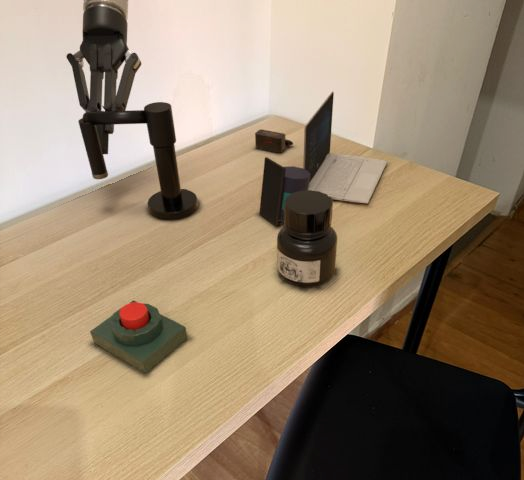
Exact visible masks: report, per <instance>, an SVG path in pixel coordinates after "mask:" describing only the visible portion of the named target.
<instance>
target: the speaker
mask: <svg viewBox="0 0 524 480" xmlns="http://www.w3.org/2000/svg"><path fill="white" fill-rule="evenodd" d="M310 176H311V174H310V173H309V172H308V171H307V170H305V169H303V167H299V166H295V165H294V166H283V165H281V164H279V163H277V162H276V161H274V160H273V159H271V158H269V157H268V156H265V157H264V162H263V172H262V182H261V183H262V184H261V193H260V205H259V213H258V214H259V216H261V217H262V218H263V219H265V220H266V221H268V223H271V225H273V226H275V227H276V228H278V227H279V225H280V222H282V223H284V221H285V220H284V201H285V199H286V198H287V196H289V195H291V194H292V193H295V192H298V191H306V190H308V188H309V182H310Z"/></svg>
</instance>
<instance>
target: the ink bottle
mask: <svg viewBox="0 0 524 480" xmlns="http://www.w3.org/2000/svg"><path fill="white" fill-rule="evenodd" d="M333 207H334V202H333V199H332V198H330V197H329V196H328V195H327V194H324V193H322V192H319V191H312V190H306V191H298V192H295V193H292V194H291V195H289V196H287V198H286V199H285V201H284V220H285V221H284V222H283V224H284V225H283V226H282V227H281V228H280V229H279V231H278V233H277V237H276V269H277V274H278V276H279V277H280V278H281V280H283V281H284V282H286V283H288V284H290V285H292V286H296V287H299V288H313V287H318V286H321V285H323V284H325V283H327V282H328V281H330V280H331V279H332V278H333V276H334V274H335V271H336V261H337V251H338V235H337V231H336V230H335V229H334V228H333V227H332V220H333V209H334V208H333Z"/></svg>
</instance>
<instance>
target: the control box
mask: <svg viewBox="0 0 524 480" xmlns="http://www.w3.org/2000/svg"><path fill="white" fill-rule="evenodd" d="M134 302H137V301H136V300H134V299H133V300H132V301H130V302H129V303H134ZM141 303H142V304H144V305H145V306H146V307H147V310H148V315H149V322H148V324H147V325H146V326H144V327H143V328H139V329H136V330H130V329H126V328H125V327H123V325H122V322H121V319H120V315H119V312H120V309H121V308H122V307H120V308H119V309H117V310H116V311H115V312H113V313H112V315H111V316H109V317H107V318H106V319H105V320H104V321H102V322H101V323H100V324H98V325H97V326H95V327H94V328H92V329H91V330H90V331H89V333H90V335H91V338H92V341H93V344H95V345H97V346H99V347H100V348H102V349H103V350H104V351H106V352H109V353H110V354H112V355H114V356H115V357H117V358H118V359H121V360H122V361H124V362H125V363H127V364H129V365H130V366H133V367H134V368H135V369H138V370H139V371H141V372H142V373H144V374H148V372H149V371H151V370H152V369H153V368H154V367H156V365H158V364H159V363H160V362H162V361H163V360H164V359H165V358H166V357H168V356H169V355H170V354H171V353H172V352H173V351H175V350H176V349H177V348H178V347H179V346H180V345H181V344H183V343H184V342H186V340H188V333H187V327H186V326H185V325H183V324H181V323H179V322H177V321H176V320H173V319H171V318H169V317H167V316H166V315H163V314H161V313H160V311H159V309H158V308H157V307H156V306H154V305H152V304H149V303H145V302H144V303H143V302H141Z"/></svg>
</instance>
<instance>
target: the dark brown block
mask: <svg viewBox="0 0 524 480" xmlns="http://www.w3.org/2000/svg"><path fill="white" fill-rule="evenodd" d="M254 138H255V139H254V142H255V143H254V144H255V148H256V149H259V150H264V151H268V152H273V153H279V154H280V153H282V152H284V150H285V149H286V147H287V148H290V147H291V146H293V145H294V142H293V141H292V140H290V139H286V133H283V132H278V131H272V130H268V129H259V130H257V131H256V132H255V133H254Z"/></svg>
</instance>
